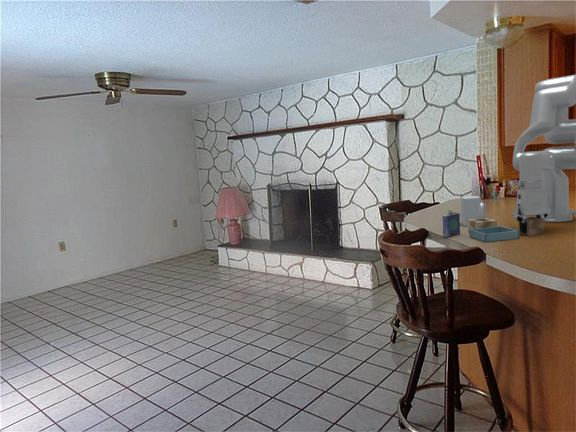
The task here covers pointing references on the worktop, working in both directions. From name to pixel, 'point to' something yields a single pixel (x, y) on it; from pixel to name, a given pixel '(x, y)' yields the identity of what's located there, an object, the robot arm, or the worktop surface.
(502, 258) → the worktop surface
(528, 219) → the walnut block
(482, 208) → the steel pin
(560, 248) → the worktop surface
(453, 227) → the flask
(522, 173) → the robot arm
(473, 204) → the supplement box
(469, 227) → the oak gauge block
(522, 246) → the worktop surface
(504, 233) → the teal tray
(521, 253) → the worktop surface
